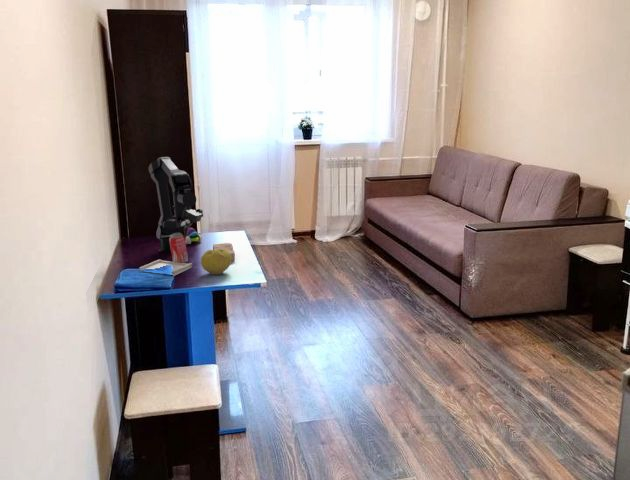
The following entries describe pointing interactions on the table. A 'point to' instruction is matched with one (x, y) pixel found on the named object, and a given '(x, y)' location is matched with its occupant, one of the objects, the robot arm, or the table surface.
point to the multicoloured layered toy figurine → (192, 236)
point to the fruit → (216, 261)
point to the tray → (176, 266)
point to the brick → (226, 247)
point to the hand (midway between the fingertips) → (183, 240)
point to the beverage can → (178, 248)
